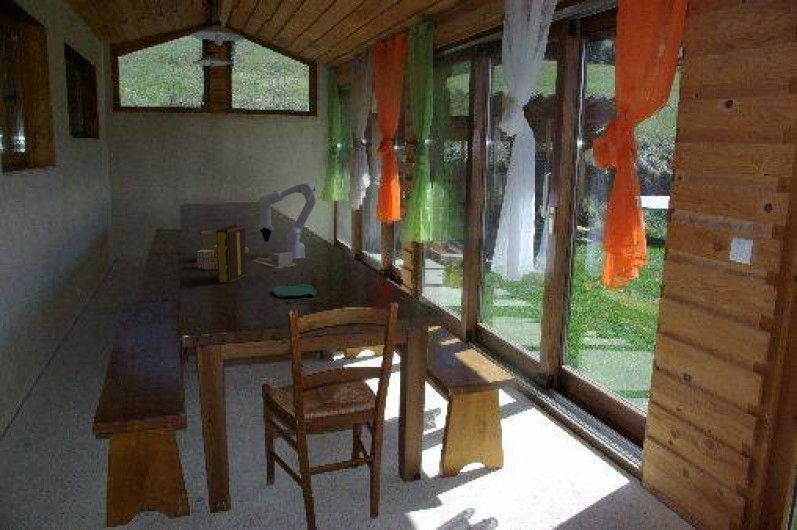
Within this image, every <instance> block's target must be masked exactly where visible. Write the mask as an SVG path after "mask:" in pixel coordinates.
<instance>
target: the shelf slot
mask: <svg viewBox="0 0 797 530" xmlns="http://www.w3.org/2000/svg"><path fill="white" fill-rule="evenodd" d="M277 253H278V263H277V262H274V261H272V255H269V256H268V257H266V258H264V257H260V256H258V257H257V258H256V259H251V261H253V262H256V263H258V264H261V265H265V266H269V267H271V268H272V269H283V268H284V269H285V268H290V267H291V266H292V267H297V266H299V265H298V263H295V262H293V260H294V259H293V255H292V252H287V251H285V252H277ZM292 267H291V268H292Z"/></svg>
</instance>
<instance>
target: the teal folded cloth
mask: <svg viewBox="0 0 797 530" xmlns="http://www.w3.org/2000/svg"><path fill="white" fill-rule="evenodd" d="M271 294H273V295H275V296H276V297H278V298H282V299H284V298H291V299H285V300H284V302H285V303H286V304H288V303H292V304H293V305H292V306H299V305H307V304H308V305H310V304H311V305H312V304H321V303H323V300H321V298H320V297H319V296H318V297H315V296H317V294H318V288H317V287H315V286H314V285H310V284H304V283H303V284H289V285H288V284H287V285H279V286H275V287H273V288H272V290H271ZM311 295H312V296H313V297H307V296H311ZM303 297H304V298H303ZM293 298H294V299H293ZM292 300H293V301H297V302H291V301H292ZM287 302H288V303H287ZM298 304H299V305H298Z"/></svg>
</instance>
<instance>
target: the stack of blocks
mask: <svg viewBox="0 0 797 530" xmlns="http://www.w3.org/2000/svg"><path fill="white" fill-rule="evenodd" d="M196 262H197V270H218V257H217V245H216V246H214V250H205V249H200V250H198V251H196Z"/></svg>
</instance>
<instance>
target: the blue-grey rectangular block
mask: <svg viewBox="0 0 797 530" xmlns="http://www.w3.org/2000/svg"><path fill="white" fill-rule="evenodd" d="M278 253H279V252H276V253H271V254H272V255H271V256H272V261H274V262H277V263H278Z"/></svg>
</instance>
